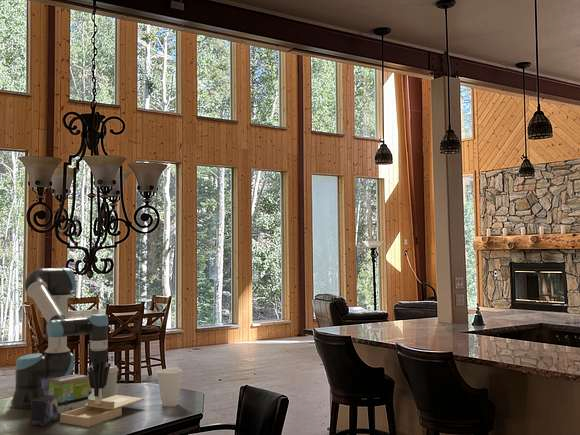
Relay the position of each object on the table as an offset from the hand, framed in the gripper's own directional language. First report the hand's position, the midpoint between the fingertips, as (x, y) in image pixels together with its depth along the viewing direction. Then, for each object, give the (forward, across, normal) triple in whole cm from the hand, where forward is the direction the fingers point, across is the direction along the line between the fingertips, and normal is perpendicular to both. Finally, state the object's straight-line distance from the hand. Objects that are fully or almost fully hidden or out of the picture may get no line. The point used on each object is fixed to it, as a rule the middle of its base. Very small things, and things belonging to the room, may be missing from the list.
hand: (98, 403), depth 272 cm
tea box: (+6, +4, +22) cm, 23 cm away
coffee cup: (+6, +30, +22) cm, 38 cm away
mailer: (+6, -4, 0) cm, 7 cm away
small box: (+6, -17, +14) cm, 23 cm away
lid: (+2, +11, 0) cm, 11 cm away
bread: (+6, +30, +46) cm, 55 cm away
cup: (+6, +30, -16) cm, 34 cm away
